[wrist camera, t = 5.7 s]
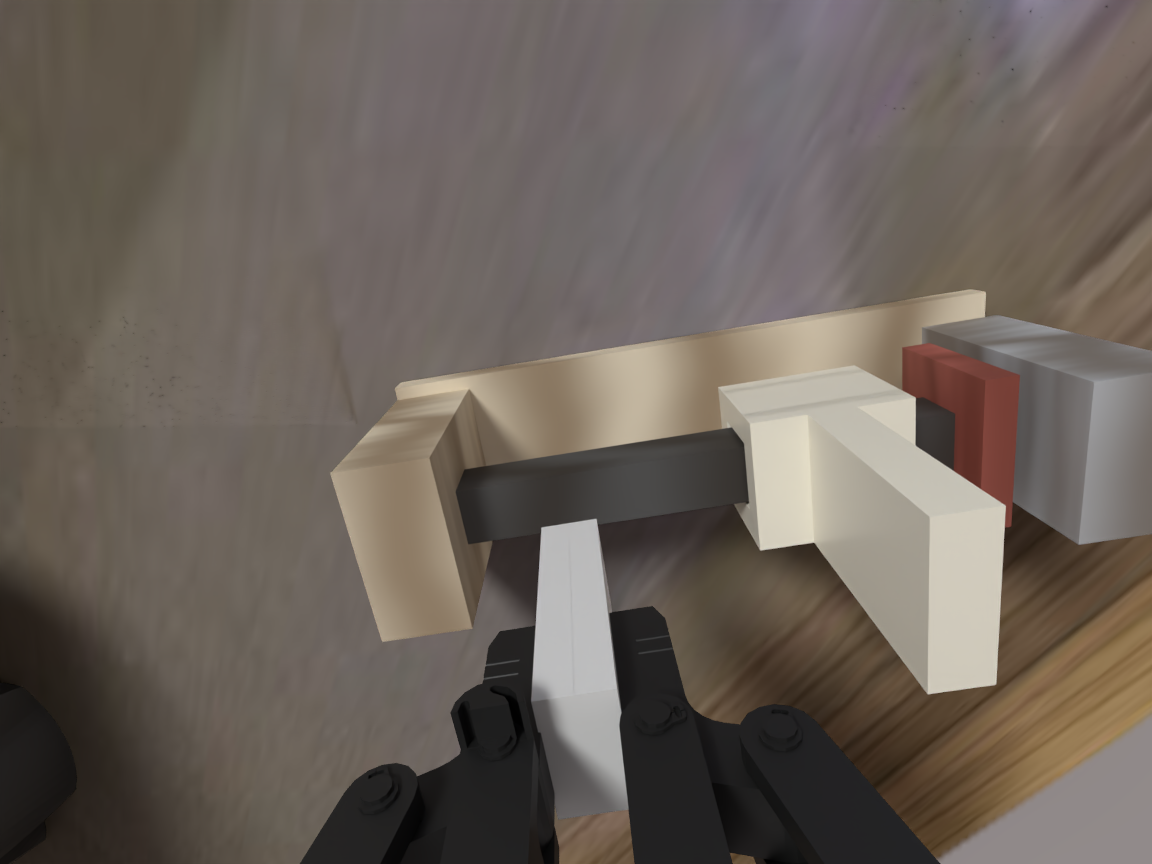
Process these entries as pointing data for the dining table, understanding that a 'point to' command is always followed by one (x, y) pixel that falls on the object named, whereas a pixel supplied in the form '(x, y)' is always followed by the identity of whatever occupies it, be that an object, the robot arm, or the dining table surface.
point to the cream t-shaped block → (876, 514)
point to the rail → (564, 424)
